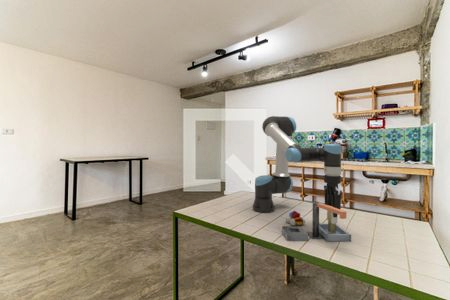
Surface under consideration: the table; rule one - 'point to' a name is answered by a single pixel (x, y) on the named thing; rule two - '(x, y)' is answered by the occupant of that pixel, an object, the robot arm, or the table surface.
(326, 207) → the swing bar
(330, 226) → the pin
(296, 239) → the hitch block
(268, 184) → the robot arm
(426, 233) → the table surface
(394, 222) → the table surface
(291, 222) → the rainbow disc toy
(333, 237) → the tray
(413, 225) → the table surface
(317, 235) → the gate post
